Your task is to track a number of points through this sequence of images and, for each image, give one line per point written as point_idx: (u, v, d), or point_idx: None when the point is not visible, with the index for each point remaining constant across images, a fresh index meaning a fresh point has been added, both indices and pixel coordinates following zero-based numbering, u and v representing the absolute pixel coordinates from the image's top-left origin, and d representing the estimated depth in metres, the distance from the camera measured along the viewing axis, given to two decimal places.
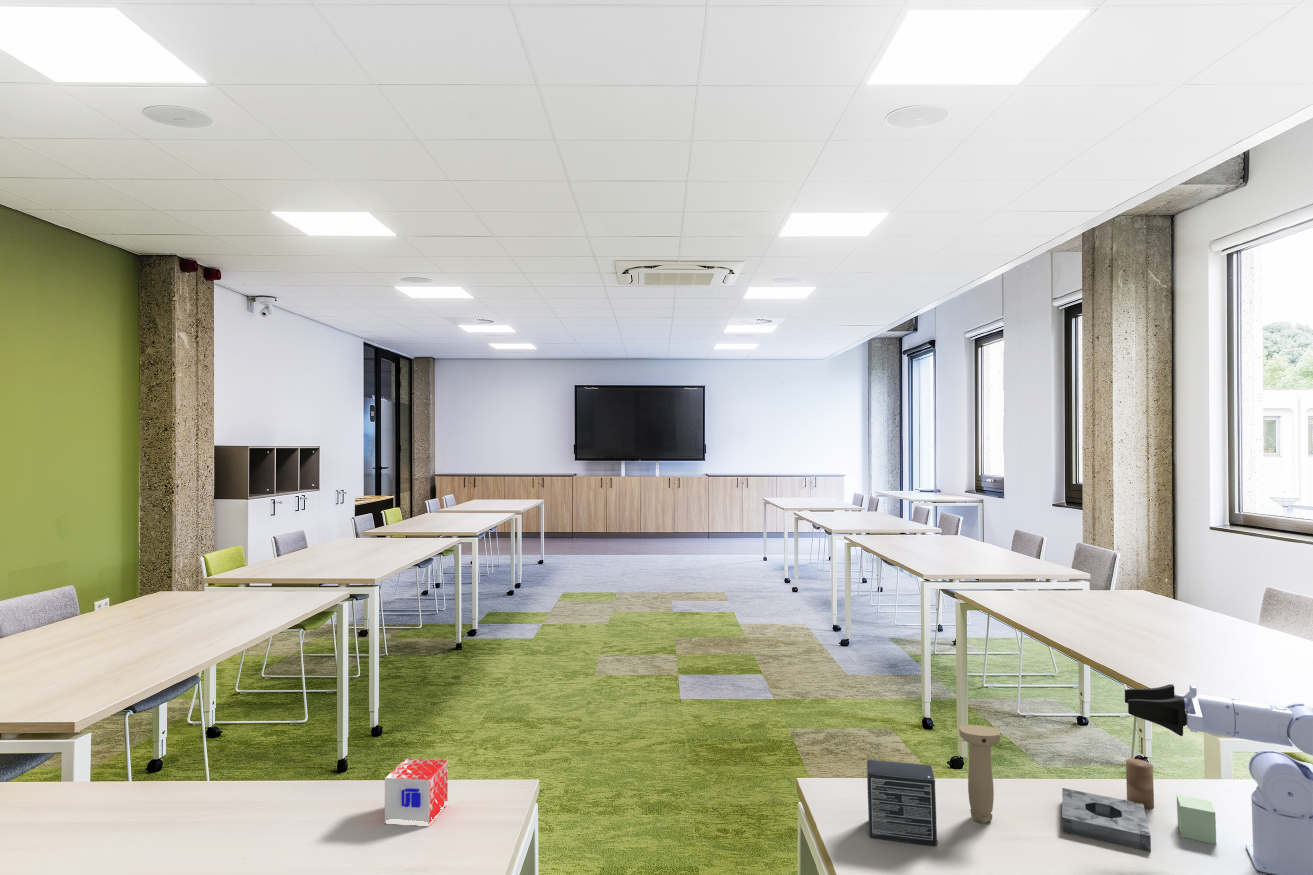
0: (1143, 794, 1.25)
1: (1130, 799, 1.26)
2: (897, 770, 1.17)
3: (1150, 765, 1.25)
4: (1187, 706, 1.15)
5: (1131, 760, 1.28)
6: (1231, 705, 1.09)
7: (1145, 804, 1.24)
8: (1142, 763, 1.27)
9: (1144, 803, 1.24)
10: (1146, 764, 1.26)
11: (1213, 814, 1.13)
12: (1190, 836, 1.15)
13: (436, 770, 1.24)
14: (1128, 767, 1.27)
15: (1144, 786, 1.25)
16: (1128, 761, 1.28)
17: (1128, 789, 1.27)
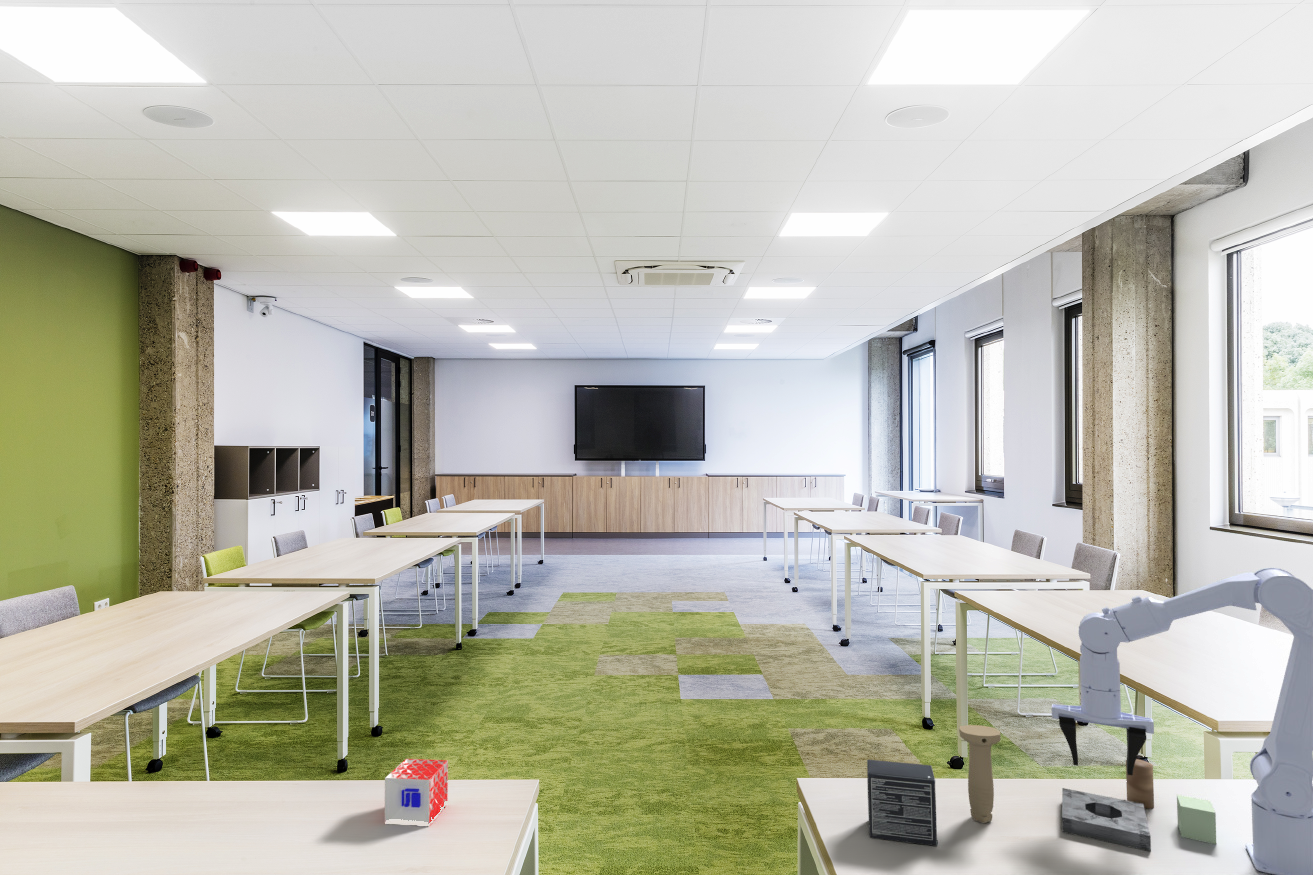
0: (1143, 794, 1.25)
1: (1130, 799, 1.26)
2: (897, 770, 1.17)
3: (1150, 765, 1.25)
4: None
5: None
6: None
7: (1145, 804, 1.24)
8: (1142, 763, 1.27)
9: (1144, 803, 1.24)
10: (1146, 764, 1.26)
11: (1213, 814, 1.13)
12: (1190, 836, 1.15)
13: (436, 770, 1.24)
14: None
15: (1144, 786, 1.25)
16: None
17: (1128, 789, 1.27)
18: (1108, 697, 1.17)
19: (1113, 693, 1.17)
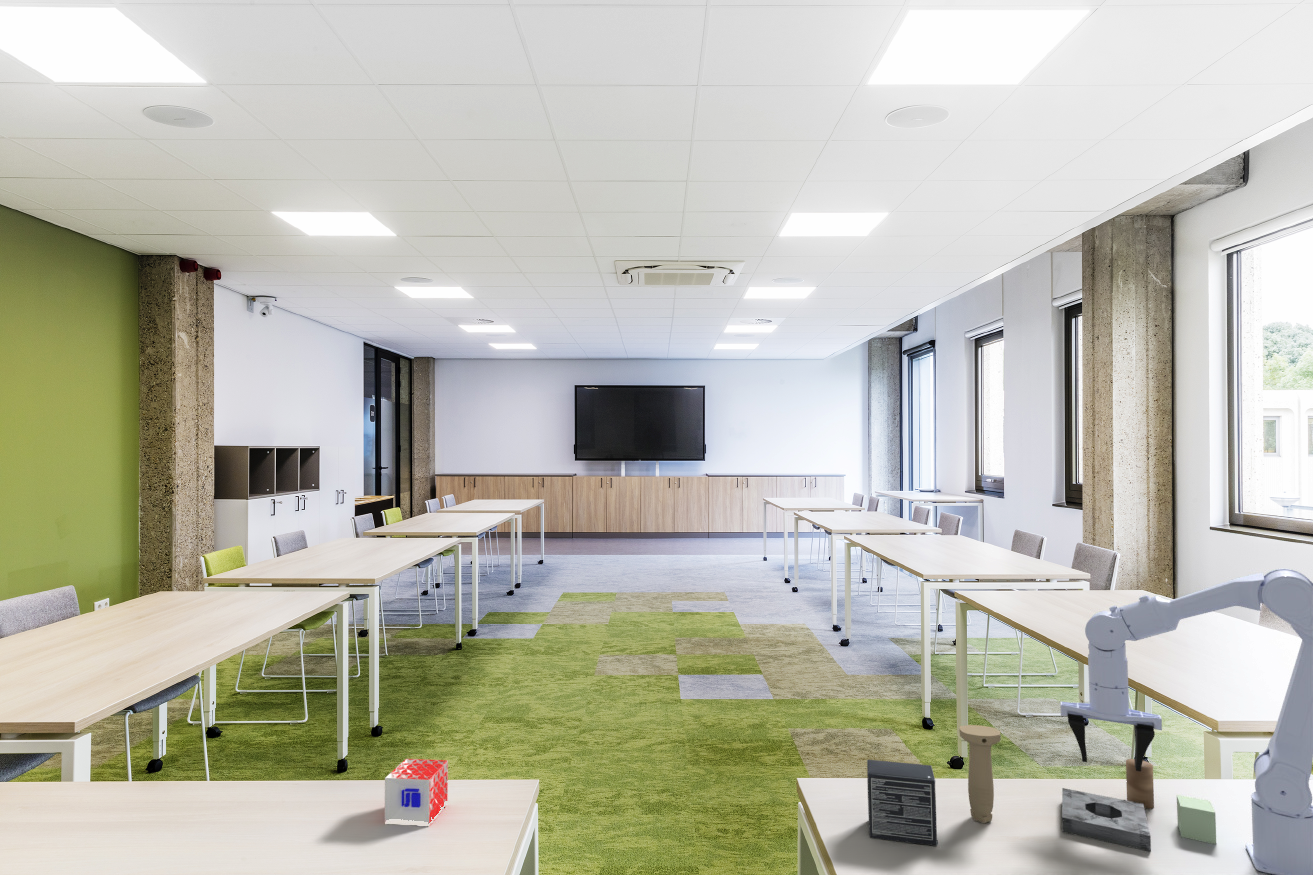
0: (1143, 794, 1.25)
1: (1130, 799, 1.26)
2: (897, 770, 1.17)
3: (1150, 765, 1.25)
4: None
5: (1131, 760, 1.28)
6: None
7: (1145, 804, 1.24)
8: (1142, 763, 1.27)
9: (1144, 803, 1.24)
10: (1146, 764, 1.26)
11: (1213, 814, 1.13)
12: (1190, 836, 1.15)
13: (436, 770, 1.24)
14: (1128, 767, 1.27)
15: (1144, 786, 1.25)
16: (1128, 761, 1.28)
17: (1128, 789, 1.27)
18: (1117, 694, 1.18)
19: (1121, 690, 1.18)
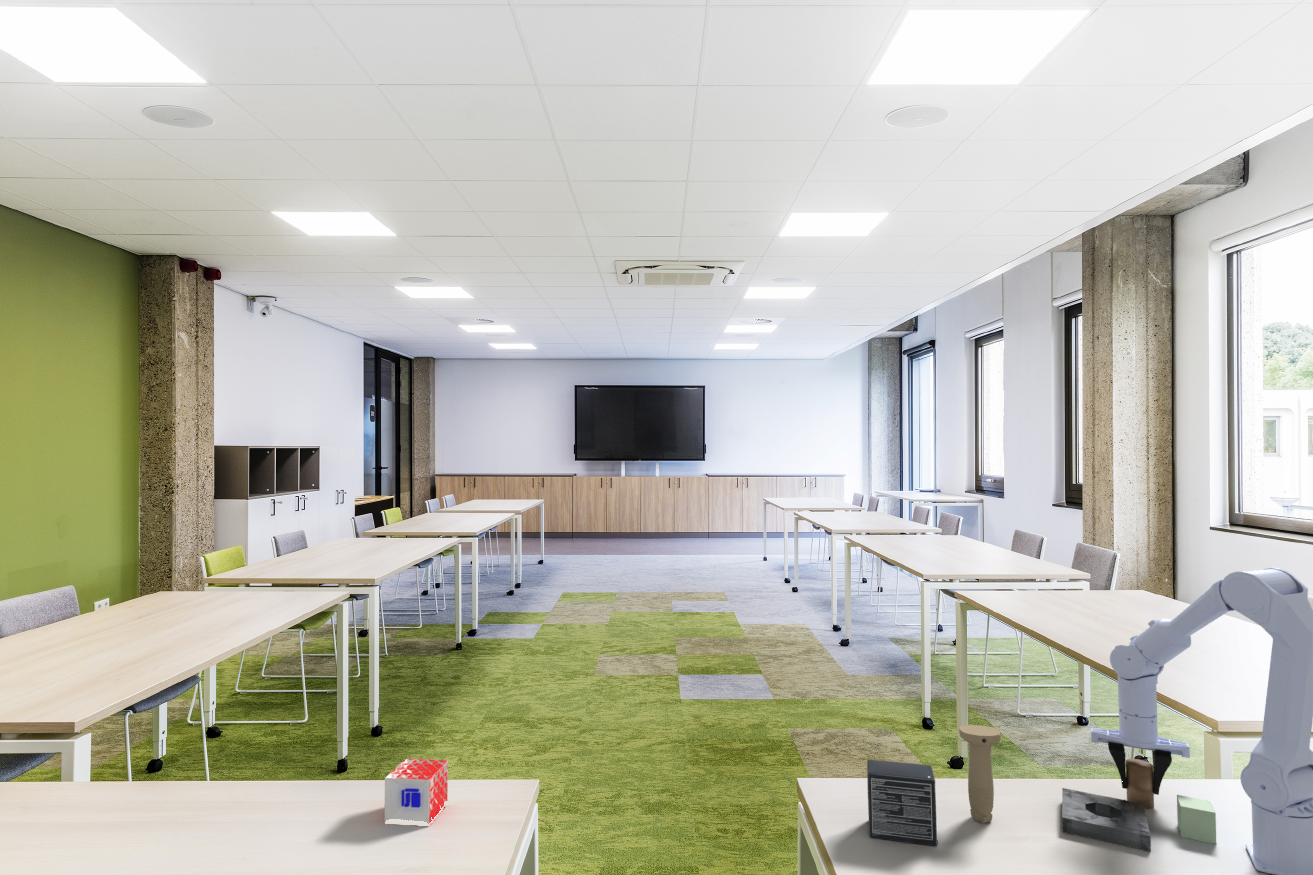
0: (1143, 794, 1.25)
1: (1130, 799, 1.26)
2: (897, 770, 1.17)
3: (1150, 765, 1.25)
4: None
5: (1131, 760, 1.28)
6: None
7: (1145, 804, 1.24)
8: (1142, 763, 1.27)
9: (1144, 803, 1.24)
10: (1146, 764, 1.26)
11: (1213, 814, 1.13)
12: (1190, 836, 1.15)
13: (436, 770, 1.24)
14: (1128, 767, 1.27)
15: (1144, 786, 1.25)
16: (1128, 761, 1.28)
17: (1128, 789, 1.27)
18: (1146, 723, 1.24)
19: (1151, 719, 1.24)
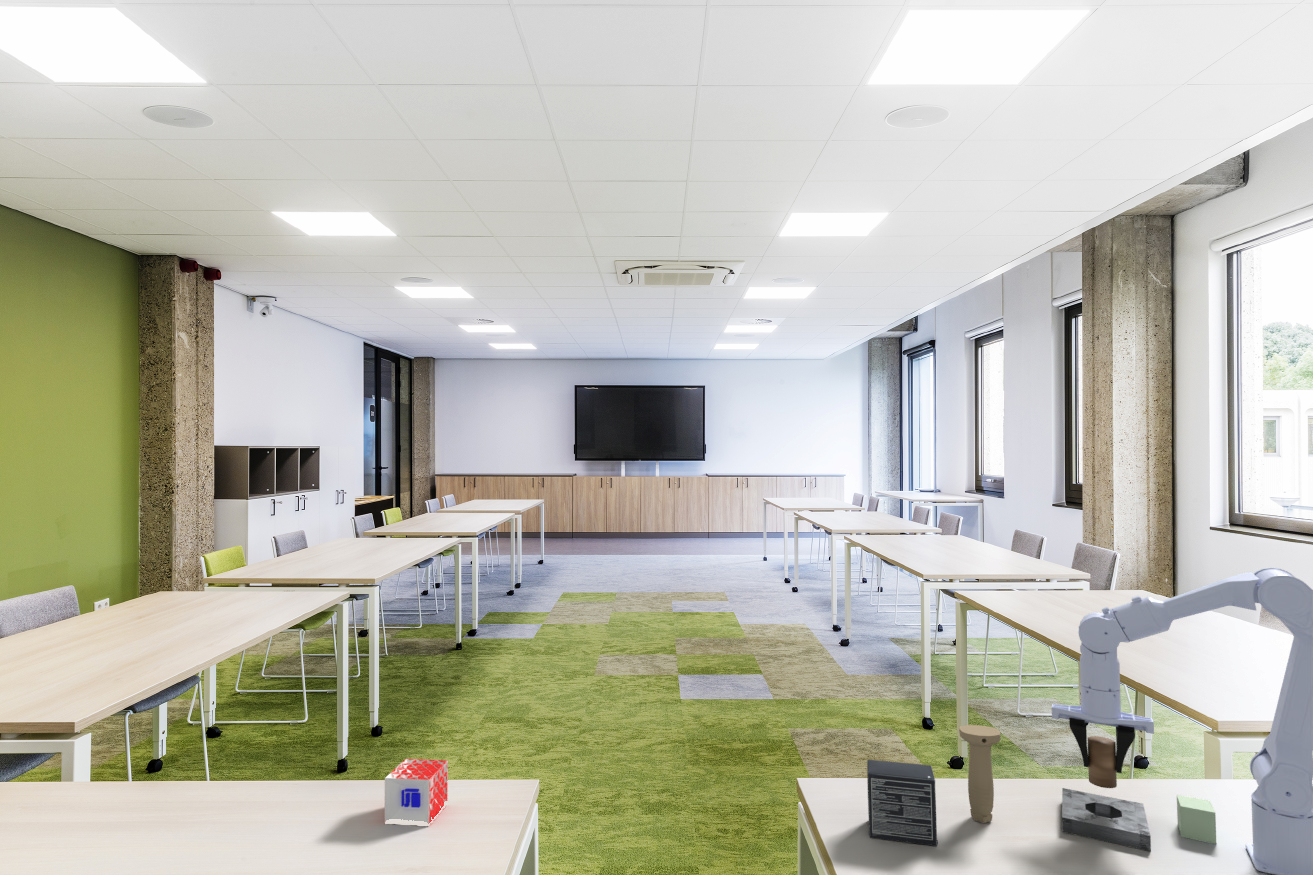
0: (1103, 772, 1.18)
1: (1091, 778, 1.19)
2: (897, 770, 1.17)
3: (1112, 743, 1.19)
4: None
5: (1094, 737, 1.21)
6: None
7: (1106, 783, 1.18)
8: (1104, 740, 1.20)
9: (1105, 782, 1.18)
10: (1108, 742, 1.19)
11: (1213, 814, 1.13)
12: (1190, 836, 1.15)
13: (436, 770, 1.24)
14: (1089, 744, 1.20)
15: (1104, 764, 1.18)
16: (1090, 738, 1.21)
17: (1089, 767, 1.20)
18: (1108, 697, 1.17)
19: (1113, 693, 1.17)
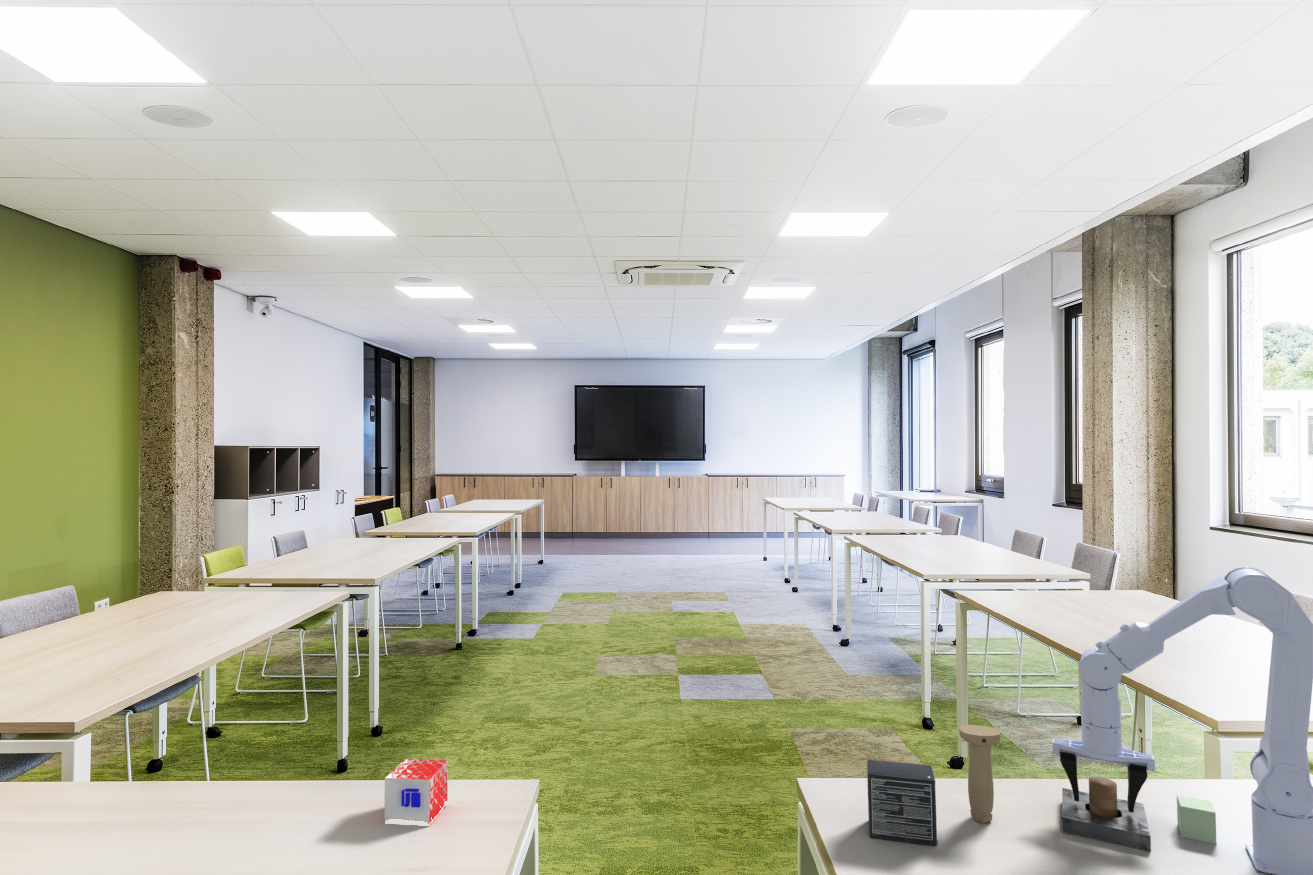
0: (1105, 814, 1.17)
1: None
2: (897, 770, 1.17)
3: (1113, 785, 1.18)
4: None
5: (1095, 778, 1.21)
6: None
7: None
8: (1105, 782, 1.19)
9: None
10: (1109, 783, 1.19)
11: (1213, 814, 1.13)
12: (1190, 836, 1.15)
13: (436, 770, 1.24)
14: (1090, 785, 1.20)
15: (1105, 806, 1.17)
16: (1091, 779, 1.20)
17: (1090, 808, 1.20)
18: (1109, 734, 1.17)
19: (1114, 730, 1.17)
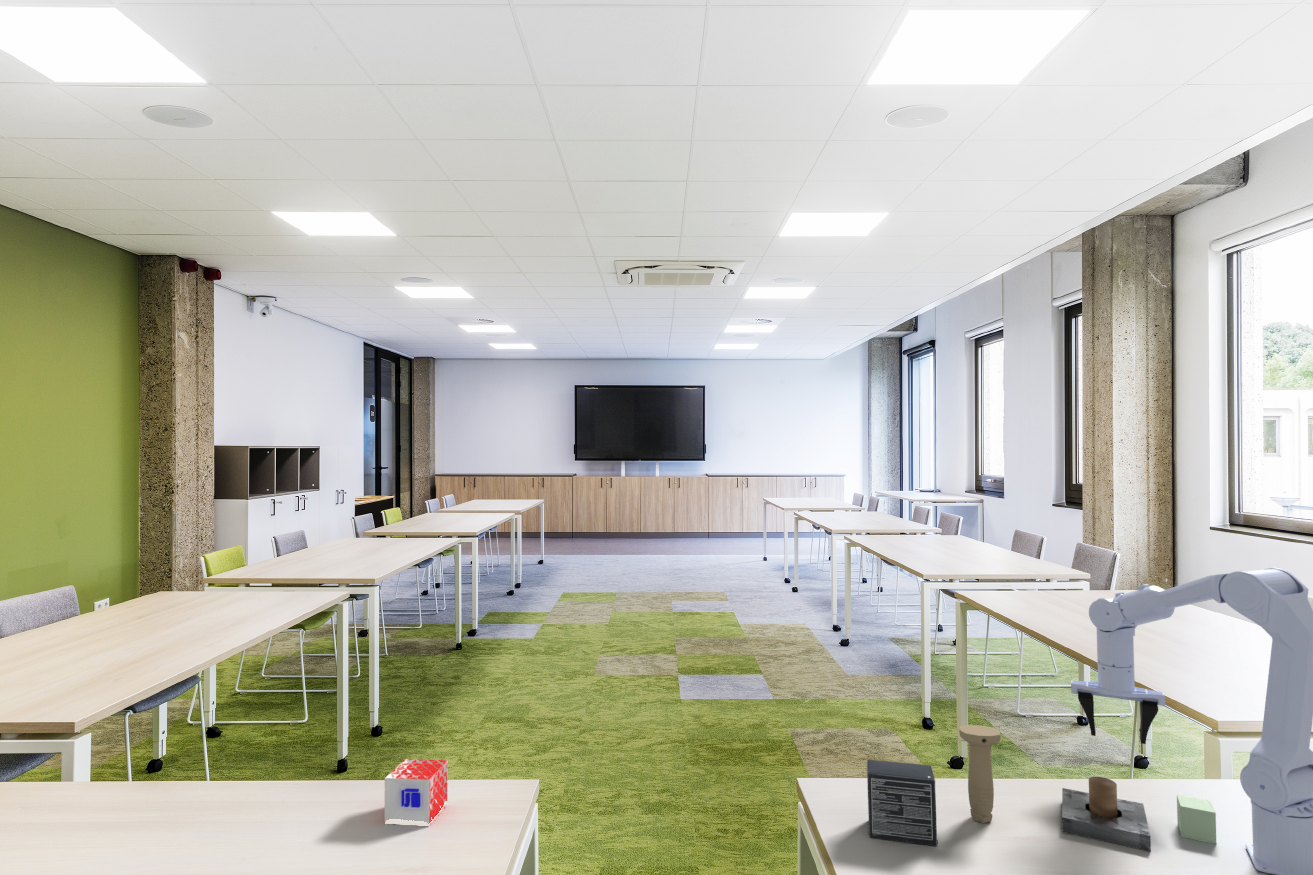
0: (1105, 814, 1.17)
1: None
2: (897, 770, 1.17)
3: (1113, 785, 1.18)
4: None
5: (1095, 778, 1.21)
6: None
7: None
8: (1105, 782, 1.19)
9: None
10: (1109, 783, 1.19)
11: (1213, 814, 1.13)
12: (1190, 836, 1.15)
13: (436, 770, 1.24)
14: (1090, 785, 1.20)
15: (1105, 806, 1.17)
16: (1091, 779, 1.20)
17: (1090, 808, 1.20)
18: (1123, 673, 1.28)
19: (1128, 669, 1.28)
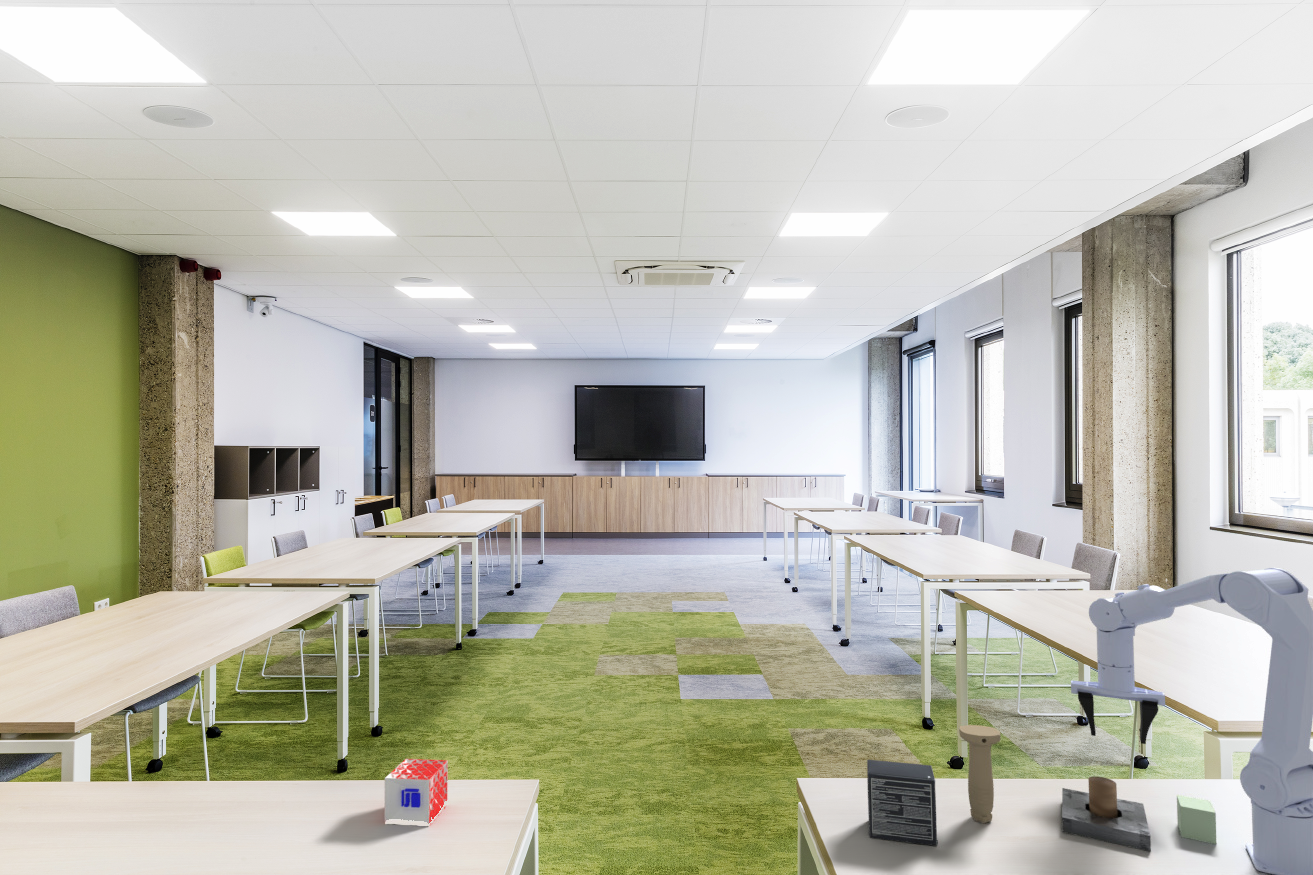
0: (1104, 814, 1.18)
1: None
2: (897, 770, 1.17)
3: (1113, 784, 1.18)
4: None
5: (1095, 777, 1.21)
6: None
7: None
8: (1105, 781, 1.19)
9: None
10: (1109, 783, 1.19)
11: (1213, 814, 1.13)
12: (1190, 836, 1.15)
13: (436, 770, 1.24)
14: (1090, 785, 1.20)
15: (1105, 806, 1.18)
16: (1091, 778, 1.21)
17: (1090, 808, 1.20)
18: (1123, 673, 1.28)
19: (1128, 669, 1.28)
